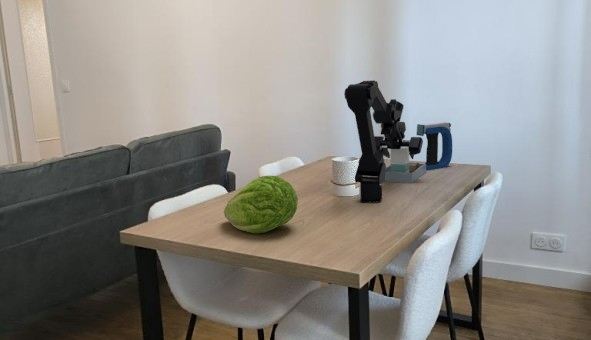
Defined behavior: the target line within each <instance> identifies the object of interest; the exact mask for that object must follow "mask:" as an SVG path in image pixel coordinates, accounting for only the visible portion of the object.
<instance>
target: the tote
mask: <svg viewBox="0 0 591 340" xmlns="http://www.w3.org/2000/svg"><path fill="white" fill-rule="evenodd" d="M418 163H419V168H418V169H416V170H415V171H414V172H412V173H395V172H391V164H388V166H386V172H385V181H384V182H387V183H388V182H389V183H392V182H393V183H406V184H413V183H414V182H416V181H417V180H418V179H419V178H421V177H422V176H423V175H425V174H426V173H427V170H426V164H425V163H421V162H418Z"/></svg>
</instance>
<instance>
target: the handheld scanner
mask: <svg viewBox="0 0 591 340" xmlns="http://www.w3.org/2000/svg"><path fill="white" fill-rule="evenodd" d="M451 127H452V124H451V122H447V121H445V122H436V123H429V124H428V123H427V124H419V123H418V124H417V125H416V136H418V137H424V135H426V143H427V145H426V160H425V162H424V164H426V171H433V170H437V169H438V170H439V169H445V168H447V167H448V166H449V164H450V163H451V161H452V158H453V136H452V133H451V130H452V129H451ZM439 134H440V135H441V145H442V146H441V148H442V150H441V156H440V159H439V160H438V157H439V156H438V155H439V154H438V153H439Z"/></svg>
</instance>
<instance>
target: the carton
mask: <svg viewBox="0 0 591 340" xmlns="http://www.w3.org/2000/svg"><path fill="white" fill-rule="evenodd" d="M409 162H410V155H409V147H401V148H400V149H390V165H391V172H395V173H409Z"/></svg>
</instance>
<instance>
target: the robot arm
mask: <svg viewBox="0 0 591 340" xmlns="http://www.w3.org/2000/svg"><path fill="white" fill-rule="evenodd" d="M343 94H344V99H345V100H346V105H347V106H348V108H349V109H350V111H351V112H352V113H353V115H354V116H355V123H356V127H357V134H358V139H359V144H360V150H361V156H360V158H359V160H358V165H357V169H356V171H355V174H354V180H355V183H360V201H359V202H360V203H381V200H383V186H382V183H384V182H386V181H385V172H386V167H387V166H386V162H385V159H384V157H385V158H387V159H391V153H390V152H389V150H391V149H400V148H401V147H409V158H410V159H411V160H414V157H415V156H416V155H419V154H420V153H421V152H422V148H423V143H424V139H423V137H422V136H411V137H410V139H409V140H407V139H405V137H406V135H405V132H406V131H407V127H406V122H405V121H401V118H402V115H403V110H404V104H403V103H402V102H400V101H397V99H391V98H390V100H389V102H387V101H386V99H385V97H384V96H383V94H382V91H381V90H380V88H379V83H378V81H377V80H363V81H360V82H358V83H352V84H349V85H347V87H345V90H344V92H343ZM371 109H372V110H373V112H372V113H371ZM372 120H373V121H374V123H375V124H378V125H379V124H380V135H375V133H374V125H373V121H372ZM404 139H405V140H404Z"/></svg>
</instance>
